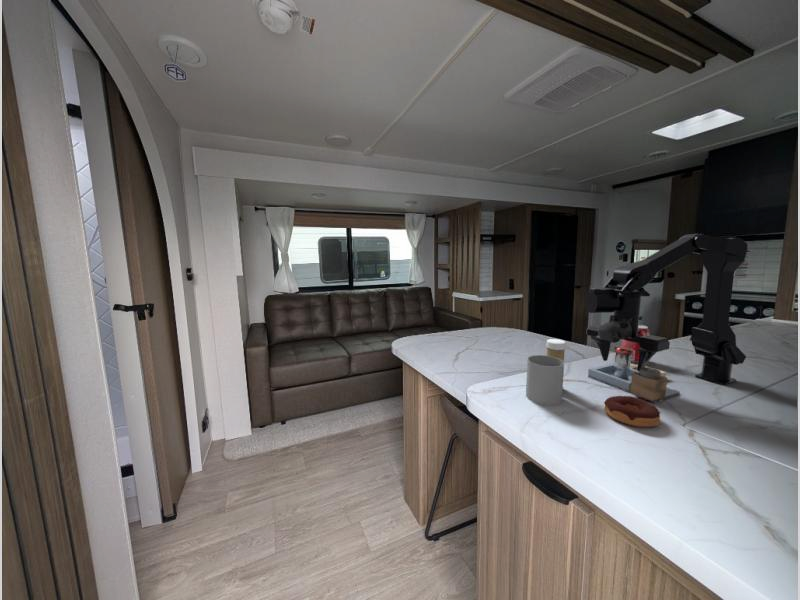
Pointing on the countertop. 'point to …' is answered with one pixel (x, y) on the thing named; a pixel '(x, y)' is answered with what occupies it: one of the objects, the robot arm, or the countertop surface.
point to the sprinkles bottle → (556, 348)
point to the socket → (647, 367)
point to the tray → (611, 376)
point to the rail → (668, 394)
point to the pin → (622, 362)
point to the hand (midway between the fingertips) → (621, 365)
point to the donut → (632, 411)
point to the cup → (544, 380)
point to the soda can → (634, 345)
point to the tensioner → (649, 384)
